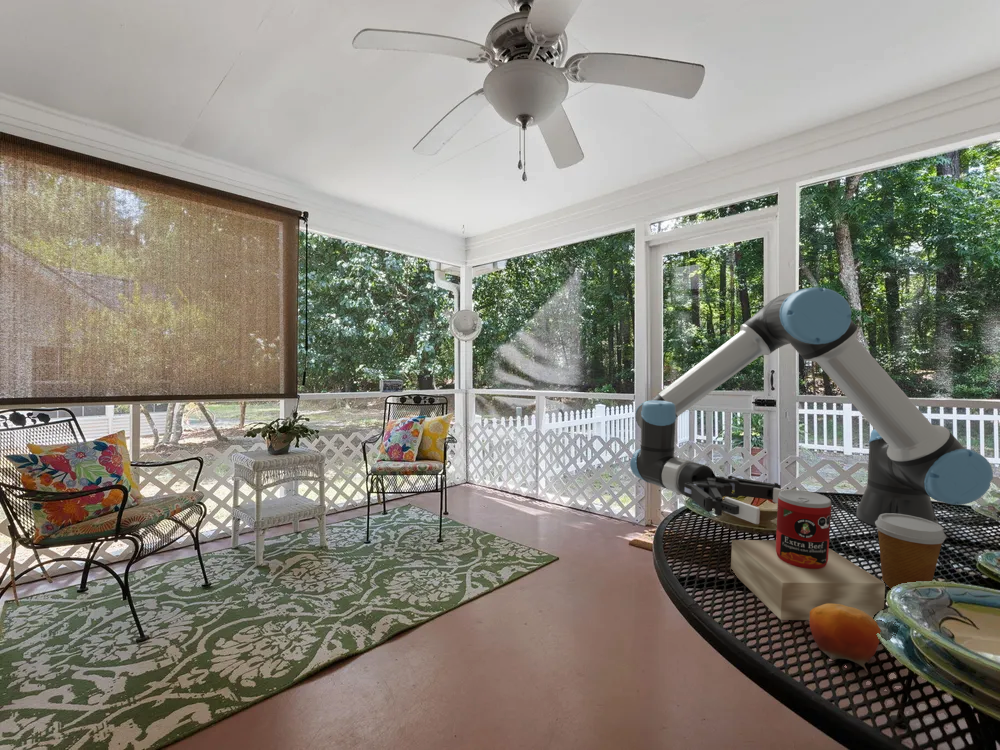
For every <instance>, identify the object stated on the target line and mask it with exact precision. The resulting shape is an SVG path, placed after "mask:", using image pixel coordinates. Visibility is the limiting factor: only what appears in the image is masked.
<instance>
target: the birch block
mask: <svg viewBox="0 0 1000 750" xmlns="http://www.w3.org/2000/svg"><path fill="white" fill-rule="evenodd" d="M730 552H731V553H730V555H731V556H730V557H731V558H730V570H731V569H732V570H733V571H734V573H735V575H736V576H737V579H738V580H739V581H740V582H741V583H742V584H743V585H745V587H747V588H748V590H750V592H752V594H753V595H754V596H755V597H756V598H757V599H759V600H760V601H761V602H762V603H763V605H765V606H766V607H767V608H768V609H769V610H770V611H771V612H772V613H773V614H774V615H775V616H776V617H777V618H778V619H779V620H780V621H789V620H790V621H810V611H811V610H812V609H813V608H815V607H818V606H820V605H823V604H828V603H829V604H830V603H832V604H841V605H844V606H847V607H853V608H856V609H859V610H861V611H864V612H865V613H866V614H868V615H869V616H871V617H872V618H873V617H874V615H875V614H876V613H877V612H878V611H880V610H882V609H884V610H885V608H884V607H885V595H886V586H885V583H884V582H883V581H882V580H881V579H880V578H878V577H876V576H874V575H873V574H871V573H869V572H868V571H867V570H865V569H863V568H861V566H859V565H857V564H855V563H854V562H852V561H850V560H849V559H847V558H846V557H844V556H842V555H841V554H839V553H837V552H836V551H834V550H833V549H831V548H829V553H828V562H827V564H826V566H825V567H823V568H819V569H807V568H801V567H797V566H794V565H791V564H788V563H786V562H784V561H783V560H781V559H780V558H779V557H778V556H777V553H776V539H773V540H772V539H756V540H755V539H731V551H730ZM735 575H734V576H735ZM736 576H735V577H736Z"/></svg>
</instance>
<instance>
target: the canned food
mask: <svg viewBox="0 0 1000 750" xmlns="http://www.w3.org/2000/svg"><path fill="white" fill-rule="evenodd" d="M783 490H784V489H783ZM776 508H777V510H776V512H777V514H776V530H775V531H776V535H775V540H776V553H777V556H778V557H779V558H780V559H781V560H783V561H784V562H786V563H788V564H791V565H794V566H797V567H801V568H807V569H819V568H823V567H825V566H826V564H827V562H828V553H829V547H830V535H831V534H830V533H831V520H832V519H831V518H832V500H831V499H830V498H829V497H827V495H823V494H820V493H816V492H813V491H808V490H800V489H785V490H784V491H781V492H779V495H778V503H777V507H776Z"/></svg>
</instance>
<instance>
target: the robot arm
mask: <svg viewBox="0 0 1000 750" xmlns="http://www.w3.org/2000/svg"><path fill="white" fill-rule="evenodd" d="M858 331H859V327H858V325H856V323H854V321H853V320H852V308H851V306H850V304H849V302H848V301H847V299H846V298H845V297H844V296H843V295H842V294H840V293H839V292H838V291H835V290H833V289H830V288H825V287H814V286H813V287H805V288H801V289H798V290H796V291H793V292H788V293H783V294H781V295H778V296H776V297H775V298H773V299H772V300H770V301H768V302H767V303H766V304H765V305H764V306H763V307H762V308H760V309H759V310H758V311H757V312H755V314H754V315H752V316H751V317H750V318H749V319H748V320H746V321H744V323H743V324H740V329H739V332H737V333H736V334H735V335H734V336H732V337H731V338H730V339H728V340H727V341H726V342H724V343H723V344H722V345H720V346H719V347H717V348H716V349H715V350H714V351H712V352H711V353H710V354H709V355H708V356H705V358H703V359H702V360H701V361H699V362H698V363H696V365H694V366H693V367H691V368H690V369H689V370H688V371H686V372H685V373H683V374H682V375H681V376H679V377H678V378H677V379H676V380H675V381H673V382H672V383H670V384H669V385H667V386H666V387H665V388H664V389H663V390H661V391H660V392H659V393H658V394H656V395H655V396H653V397H652V398H651V399H649V400H647V401H644V402H642V403H641V404H639V405H638V406H637V408H636V410H635V422H636V424H637V425H638V427H639V428H640V431H641V432H640V436H641V437H640V448H638V449H636V450H635V451H634V452H633V454H632V457H631V459H630V463H629V466H630V470H631V473H632V474H633V475H634V476H635V477H637V478H638V479H640V480H642V481H644V482H646V483H648V484H652V485H655V486H659V487H660V488H664V489H666V490H668V491H671V492H674V493H675V494H676V495H677V496H680V495H682V496H684V497H686V498H689V499H691V500H693V502H695V503H696V504H697V505H698V506H699V507H701V509H703V510H704V511H706V512H709V513H710V512H711V513H712V511H713V510H714V515H715V516H722V515H723V513H725V514H728V515H731V516H734V517H736V518H739V519H742V520H743V521H747V522H749V523H752V524H754V525H759V524H760V515H761V508H760V507H757V506H755V505H752V504H749V503H746V502H743V501H740V500H738V499H737V498H739V497H747V498H756V499H763V500H771V501H772V502H773V503H776V504H778V495H779V492H781V491H784V489H782V487H781V486H782V485H781V484H779V483H777V482H774V483H772V482H771V483H770V482H764V481H759V480H753V479H752V480H751V479H746V478H742V477H741V478H740V477H736V476H733V475H728V476H727V477H724V476H719V475H717V476H716V474H715V473H714V470H713V469H712V468H711V467H710V466H708V465H704V464H701V463H698V462H694V461H692V460H688V459H685V458H681V457H677V456H675V448H676V447H675V439H676V420H677V418H678V417H679V416H681V415H682V414H684V413H685V412H686V411H688V410H689V409H690V408H692V407H693V406H694V405H696V404H697V403H698V402H699V401H701V400H702V399H704V398H705V397H706V396H708V395H709V394H710V393H712V392H713V391H715V390H716V389H717V388H718V387H719V388H720V386H721V385H723V384H724V383H725V382H727V381H728V380H729V379H731V378H733V376H735V375H736V374H738V373H739V372H740V371H742V370H743V369H744V368H745V367H747V366H748V365H750V364H751V363H752V362H754V361H756V359H757V358H759V357H760V356H762V355H763V356H769V355H770V354H772V353H773V352H775V351H776V350H778V349H779V348H782V347H784V346H786V345H789V344H790V345H791V347H793V348H794V350H795V351H796V352H797V353H798V354H799V355H800V356H801V358H802V359H803V360H804V361H806V362H815V363H817V365H818V366H819V367H820V368H821V369H822V370H823V372H825V374H827V376H828V377H829V378H830V379H831V380H832V382H833V383H834V384H835V385H836V386H837V388H839V390H840V391H841V392H842V393H843V395H844V396H845V397H846V398H847V399H848V400H849V402H850V403H852V405H853V406H854V407H855V408H856V410H857V411H859V413H860V415H862V416H863V418H864V419H866V421H867V422H868V423H869V425H870V426H871V427H872V428H873V430H871V432H870V437H869V441H868V445H869V446H868V461H867V463H868V464H867V466H868V467H867V469H868V470H867V483H866V487H865V488H866V489H865V491H864V492H863V495H862V497H861V499H860V501H859V503H858V505H857V507H856V518H857V519H859V520H860V521H861V522H864V523H865V524H868V525H870V526H874V527H875V528H877V526H876V525H875V521H876V520H878V517H879V515H880V514H885V513H895V514H904V515H910V516H915V517H919V518H923V519H926V520H929V521H932V522H935V523H937V524H939V520H938V518H937V516H936V513H935V509H934V505H933V503H932V500H935V501H937V502H942V503H945V504H948V505H952V506H953V505H955V506H956V505H957V506H959V505H961V506H962V505H967V504H970V503H973V502H975V501H977V500H979V499H980V498H982V497H983V496H984V495H985V494H986V493H987V492H988V491H989V489H990V488H991V482H992V480H993V479H994V471H993V467H992V465H991V463H990V462H989V460H988V459H987V458H986V457H985V456H984V455H982V454H981V453H978V451H975V450H973V449H970V448H969V449H968V448H965V446H963V445H962V444H961V443H960V441H959V440H958V439H957V438H956V437H955V435H953V434H952V433H951V431H950V430H949V429H948V428H947V427H945V426H942V425H936V424H932V423H931V421H930V420H929V419H927V417H926V416H925V415H924V413H922V411H921V410H920V409H919V408H918V407H917V406H916V404H915V403H913V401H912V400H911V399H910V398H909V397H908V395H907V394H906V393H905V392H904V391H903V390H902V389H901V388H900V387H899V385H898V384H897V383H896V381H895V380H894V379H892V378H891V376H890V375H889V374H888V372H887V371H886V370H885V369H884V368H883V367H882V366H881V364H879V362H877V360H876V359H875V358H874V357H873V355H872V354H870V352H869V351H868V350H867V349H866V348H865V346H863V344H862V343H861V342H860V341H859V340H858V338H857V335H858ZM723 498H724V499H723ZM931 499H932V500H931Z"/></svg>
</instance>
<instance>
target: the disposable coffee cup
mask: <svg viewBox="0 0 1000 750" xmlns="http://www.w3.org/2000/svg"><path fill="white" fill-rule="evenodd" d="M875 525H876V526H877V527H876V526H875V527H876V530H877V535H878V544H879V545H878V546H879V555H880V556H879V557H880V566H881V567H880V568H881V579H882V580H883V581H884V582H885V583H886V584H887V585H888V586H889V588H892V587H893V586H896V585H898V584H901V583H907V582H916V581H932V582H933V579H934V576H935V571H936V568H937V563H938V561H939V556H940V551H941V548H942V544H943V543H944V542H945V540H946V539H947V535H946V534H945V532H944V528H943V526H942V525H940V524H939V523H938V524H937V523H935V522H932V521H929V520H926V519H923V518H919V517H915V516H910V515H904V514H895V513H885V514H880V515H879V517H878V520H876V521H875ZM882 580H881V581H882ZM889 588H888V589H889Z"/></svg>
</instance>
